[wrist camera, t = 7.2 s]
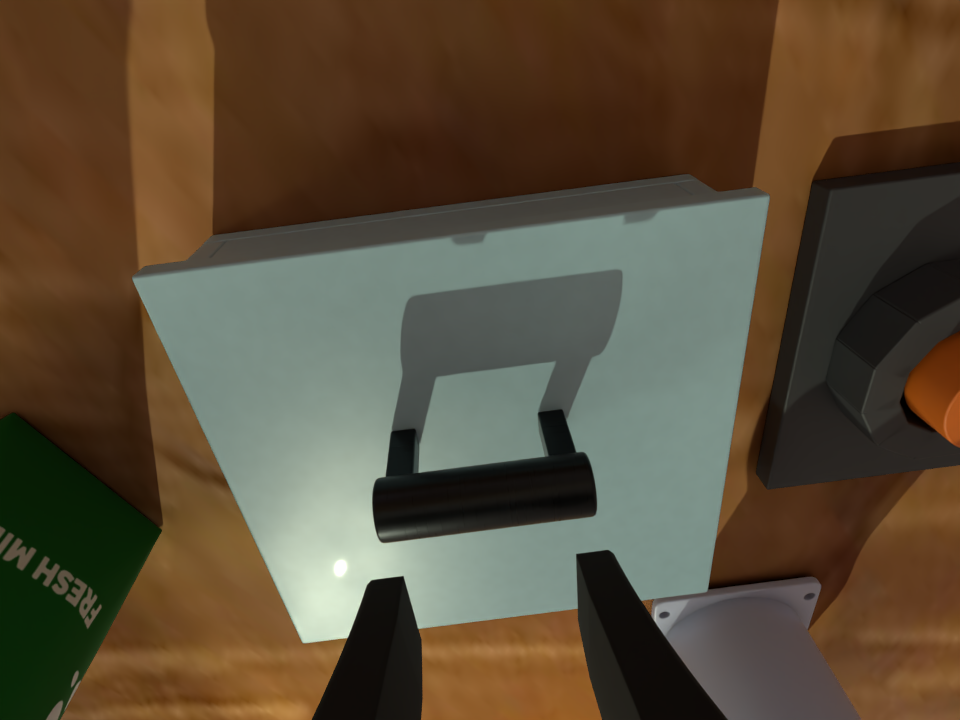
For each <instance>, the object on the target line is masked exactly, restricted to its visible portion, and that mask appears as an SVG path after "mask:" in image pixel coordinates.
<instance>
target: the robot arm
mask: <svg viewBox="0 0 960 720" xmlns="http://www.w3.org/2000/svg"><path fill="white" fill-rule="evenodd" d="M576 569H577V600H578V622H579V627H580V632H581V637H582V642H583V647H584V652H585V657H586V661H587V666H588V671H589V676H590V680H591V683H592V686H593V690H594V693H595V697H596V700H597V703H598V707H599V710H600V713H601V717H602V720H861V718H860V716H859V715H858V713H857V711H856V710H855V708H854V706H853V705H852V703H851V701H850V700H849V698H848V697H847V695H846V693H845V692H844V690H843V688H842V687H841V685H840V683H839V682H838V680H837V678H836V677H835V675H834V673H833V672H832V670H831V669H830V667H829V665H828V664H827V662H826V660H825V659H824V657H823V655H822V654H821V652H820V650H819V649H818V647H817V645H816V644H815V642H814V641H813V639H812V637H811V636H810V634H809V632H808V631H807V630H808V627H809V624H810V621H811V618H812V615H813V612H814V609H815V605H816V602H817V599H818V596H819V593H820V590H821V584H820V583H819V581H818V580H817V579H816V578H815V577H802V578H794V579H787V580H779V581H771V582H763V583H755V584H747V585H739V586H732V587H724V588H716V589H708V591H707V592H704V593H696V594H688V595H680V596H672V597H664V598H657V599H654V601H653V603H652V615H650V614H649V612H648V611H647V609H646V607H645V606H644V604H643V603H642V601H641V600H640V598H639V597H638V595H637V593H636V592H635V590H634V589H633V587H632V585H631V584H630V582H629V580H628V578H627V577H626V575H625V573H624V571H623V570H622V568H621V566H620V564H619V562H618V561H617V559H616V557H615V555H614V553H612V552H611V551H609V550H602V551H595V552H587V553H579V554H576ZM421 711H422V644H421V637H420V633H419V630H418V626H417V623H416V619H415V615H414V612H413V608H412V605H411V601H410V597H409V594H408V590H407V587H406V583H405V580H404V576H399V577H391V578H383V579H375V580H371V581H370V582H369V583H368V584H367V586H366V589H365V592H364V595H363V598H362V601H361V604H360V607H359V610H358V612H357V615H356V618H355V621H354V623H353V626H352V628H351V631H350V634H349V636H348V639H347V641H346V644H345V646H344V648H343V651H342V653H341V656H340V658H339V661H338V663H337V665H336V667H335V670H334V672H333V674H332V676H331V679H330V681H329V683H328V685H327V688H326V690H325V692H324V694H323V697H322V699H321V701H320V703H319V706H318V708H317V710H316V712H315V714H314V716H313V718H312V720H421Z"/></svg>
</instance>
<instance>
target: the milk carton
mask: <svg viewBox="0 0 960 720" xmlns="http://www.w3.org/2000/svg"><path fill="white" fill-rule="evenodd" d="M161 532H162V530H161V529H160V528H158V527H157V526H156V525H155V524H153V523H152V522H151V521H150V520H148V519H147V518H146V517H145V516H143V515H142V514H141V513H140V512H138V511H137V510H136V509H135V508H133V507H132V506H131V505H129V504H128V503H127V502H126V501H124V500H123V499H122V498H121V497H119V496H118V495H117V494H116V493H114V492H113V491H112V490H111V489H109V488H108V487H107V486H106V485H104V484H103V483H102V482H101V481H99V480H98V479H97V478H96V477H94V476H93V475H92V474H90V473H89V472H88V471H87V470H85V469H84V468H83V467H82V466H80V465H79V464H78V463H77V462H75V461H74V460H73V459H72V458H70V457H69V456H68V455H67V454H65V453H64V452H63V451H61V450H60V449H59V448H58V447H56V446H55V445H54V444H53V443H51V442H50V441H49V440H48V439H46V438H45V437H44V436H43V435H41V434H40V433H39V432H38V431H36V430H35V429H34V428H32V427H31V426H30V425H29V424H27V423H26V422H25V421H24V420H22V419H21V418H20V417H19V416H17V415H16V414H15V413H11V414H9V415H8V416H6V417H4V418H3V419H1V420H0V720H60V719H61V717H62V715H63V713H64V712H65V710H66V708H67V706H68V704H69V702H70V700H71V699H72V697H73V695H74V693H75V691H76V689H77V687H78V686H79V684H80V682H81V680H82V678H83V676H84V674H85V673H86V671H87V669H88V667H89V666H90V664H91V662H92V660H93V658H94V657H95V655H96V653H97V651H98V649H99V647H100V646H101V644H102V642H103V640H104V638H105V636H106V634H107V633H108V631H109V629H110V627H111V625H112V623H113V621H114V619H115V617H116V616H117V614H118V612H119V610H120V608H121V606H122V604H123V602H124V600H125V599H126V597H127V595H128V593H129V591H130V589H131V587H132V585H133V583H134V582H135V580H136V578H137V576H138V574H139V572H140V570H141V569H142V567H143V565H144V563H145V561H146V559H147V557H148V556H149V554H150V552H151V550H152V548H153V546H154V544H155V543H156V541H157V539H158V537H159V535H160V534H161Z"/></svg>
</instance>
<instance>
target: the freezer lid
mask: <svg viewBox="0 0 960 720" xmlns="http://www.w3.org/2000/svg"><path fill="white" fill-rule="evenodd" d="M769 199H770V196H769V194H768V193H766V192H764V191H762V190H760V189H758V188H756V187H753V188H745V189H738V190H730V191H722V192H715V193H707V194H699V195H691V196H684V197H676V198H668V199H660V200H653V201H645V202H637V203H629V204H622V205H614V206H606V207H598V208H591V209H583V210H575V211H567V212H560V213H552V214H544V215H537V216H529V217H521V218H513V219H506V220H498V221H490V222H482V223H475V224H467V225H459V226H451V227H444V228H436V229H428V230H420V231H413V232H405V233H397V234H390V235H382V236H374V237H366V238H359V239H351V240H343V241H335V242H328V243H320V244H312V245H304V246H297V247H289V248H281V249H273V250H266V251H258V252H250V253H242V254H235V255H227V256H219V257H212V258H204V259H196V260H188V261H181V262H173V263H165V264H157V265H150V266H145V267H143V268H142V269H141V270H139V271H138V272H137V273H136V274H135V275H133V276H132V280H133V282H134V284H135V286H136V288H137V290H138V293H139V295H140V297H141V299H142V301H143V303H144V305H145V308H146V310H147V312H148V314H149V316H150V318H151V320H152V323H153V325H154V327H155V329H156V331H157V333H158V335H159V337H160V340H161V342H162V344H163V346H164V348H165V350H166V352H167V355H168V357H169V359H170V361H171V363H172V365H173V367H174V370H175V372H176V374H177V376H178V378H179V380H180V382H181V384H182V387H183V389H184V391H185V393H186V395H187V397H188V399H189V402H190V404H191V406H192V408H193V410H194V412H195V414H196V416H197V419H198V421H199V423H200V425H201V427H202V429H203V431H204V434H205V436H206V438H207V440H208V442H209V444H210V446H211V449H212V451H213V453H214V455H215V457H216V459H217V461H218V463H219V466H220V468H221V470H222V472H223V474H224V476H225V478H226V481H227V483H228V485H229V487H230V489H231V491H232V493H233V496H234V498H235V500H236V502H237V504H238V506H239V508H240V510H241V513H242V515H243V517H244V519H245V521H246V523H247V525H248V528H249V530H250V532H251V534H252V536H253V538H254V540H255V542H256V545H257V547H258V549H259V551H260V553H261V555H262V557H263V560H264V562H265V564H266V566H267V568H268V570H269V572H270V575H271V577H272V579H273V581H274V583H275V585H276V587H277V589H278V592H279V594H280V596H281V598H282V600H283V602H284V604H285V607H286V609H287V611H288V613H289V615H290V617H291V619H292V622H293V624H294V626H295V628H296V630H297V632H298V634H299V636H300V639H301V641H302V643H311V642H319V641H327V640H334V639H342V638H348V636H349V634H350V631H351V628H352V626H353V623H354V621H355V618H356V615H357V612H358V610H359V607H360V604H361V601H362V598H363V595H364V592H365V589H366V586H367V584H368V583H369V582H370V581H371V580H375V579H383V578H391V577H399V576H404V580H405V583H406V587H407V590H408V594H409V597H410V601H411V605H412V608H413V612H414V615H415V619H416V623H417V626H418V629H421V628H429V627H437V626H444V625H452V624H460V623H468V622H476V621H484V620H492V619H499V618H507V617H515V616H523V615H531V614H539V613H547V612H554V611H562V610H570V609H578V600H577V569H576V554H579V553H587V552H595V551H602V550H609V551H611V552H612V553H614V555H615V557H616V559H617V561H618V562H619V564H620V566H621V568H622V570H623V571H624V573H625V575H626V577H627V578H628V580H629V582H630V584H631V585H632V587H633V589H634V590H635V592H636V593H637V595H638V597H639V598H640V600H649V599H657V598H664V597H672V596H680V595H688V594H696V593H704V592H707V591H708V586H709V579H710V573H711V567H712V560H713V554H714V548H715V541H716V535H717V529H718V522H719V516H720V510H721V503H722V497H723V491H724V484H725V478H726V472H727V465H728V459H729V453H730V446H731V440H732V434H733V427H734V421H735V415H736V408H737V402H738V396H739V389H740V383H741V377H742V370H743V364H744V358H745V351H746V345H747V339H748V332H749V326H750V320H751V313H752V307H753V301H754V294H755V288H756V282H757V275H758V269H759V263H760V256H761V250H762V244H763V237H764V231H765V225H766V218H767V212H768V206H769Z"/></svg>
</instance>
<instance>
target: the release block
mask: <svg viewBox="0 0 960 720" xmlns="http://www.w3.org/2000/svg"><path fill="white" fill-rule="evenodd" d="M959 331H960V162H959V163H951V164H943V165H935V166H928V167H920V168H912V169H904V170H897V171H889V172H881V173H874V174H866V175H858V176H850V177H843V178H835V179H827V180H819V181H814V182H813V183H812V187H811V192H810V197H809V203H808V208H807V213H806V218H805V223H804V228H803V233H802V239H801V244H800V249H799V254H798V259H797V264H796V269H795V274H794V280H793V285H792V290H791V295H790V300H789V305H788V310H787V316H786V321H785V326H784V331H783V336H782V341H781V346H780V352H779V357H778V362H777V367H776V372H775V377H774V382H773V388H772V393H771V398H770V403H769V408H768V413H767V418H766V424H765V429H764V434H763V439H762V444H761V449H760V454H759V459H758V465H757V470H756V474H757V476H758V477H759V479H760V480H761V481H762V483H763V484H764V486H765V487H766V488H767V489H776V488H784V487H792V486H800V485H807V484H815V483H823V482H831V481H839V480H847V479H854V478H862V477H870V476H878V475H886V474H894V473H901V472H909V471H917V470H925V469H933V468H941V467H948V466H956V465H960V448H959V447H957V446H955V445H953V444H952V443H950V442H949V441H948V440H947V439H945V438H944V437H943V436H942V435H941V434H939V433H938V432H937V431H936V430H934V429H933V428H932V427H931V426H930V425H928V424H927V423H926V422H925V421H924V420H922V419H921V418H920V417H919V416H917V415H916V414H915V413H914V412H913V411H911V409H910V408H909V407H908V405H907V403H906V401H905V397H904V388H905V385H906V382H907V379H908V376H909V373H910V372H911V371H912V370H913V369H914V368H915V367H916V366H917V364H918V363H919V362H920V361H921V360H922V359H923V358H924V357H925V356H926V355H927V354H928V353H929V352H930V351H931V350H932V349H933V348H934V347H935V345H936V344H937V343H938V342H940V341H942V340H944V339H946V338H948V337H949V336H951V335H953V334H955V333H957V332H959Z"/></svg>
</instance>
